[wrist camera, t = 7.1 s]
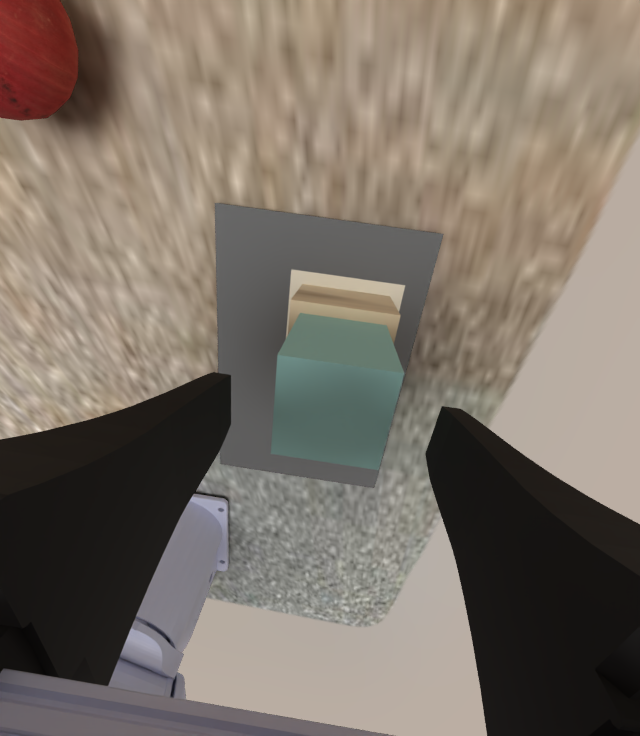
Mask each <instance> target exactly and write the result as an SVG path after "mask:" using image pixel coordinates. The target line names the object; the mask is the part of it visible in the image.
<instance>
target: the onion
mask: <svg viewBox="0 0 640 736" xmlns="http://www.w3.org/2000/svg"><path fill="white" fill-rule="evenodd" d="M77 78H78V47H77V44H76V40H75V36H74V32H73V29H72V25H71V21H70V19H69V17H68V15H67V13H66V11H65V9H64V7H63V5H62V3H61V2H60V0H0V117H1V118H6V119H13V120H31V119H42V118H48V117H49V116H51V115H52V114H53V113H55V112H56V111H57V110H58V109H59V108H60V107H61V106H62V105H63V104H64V103H65V102H66V101H67V100H68V99H69V98H70V97H71V94H72V91H73V89H74V86H75V83H76V81H77Z"/></svg>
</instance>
